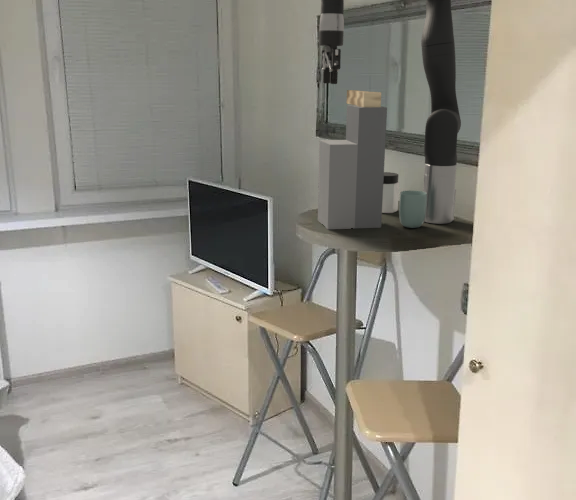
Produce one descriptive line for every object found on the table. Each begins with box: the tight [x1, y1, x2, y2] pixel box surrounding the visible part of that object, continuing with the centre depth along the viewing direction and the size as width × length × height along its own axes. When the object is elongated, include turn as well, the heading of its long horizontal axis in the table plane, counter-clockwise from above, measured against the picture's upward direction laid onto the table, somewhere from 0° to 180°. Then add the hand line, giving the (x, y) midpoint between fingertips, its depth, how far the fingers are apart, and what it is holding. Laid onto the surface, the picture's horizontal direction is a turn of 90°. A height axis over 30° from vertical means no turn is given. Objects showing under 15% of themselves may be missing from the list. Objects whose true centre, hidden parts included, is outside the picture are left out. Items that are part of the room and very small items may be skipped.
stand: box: [317, 104, 388, 230], centre depth 188 cm, size 12×16×34 cm
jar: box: [382, 171, 400, 214], centre depth 210 cm, size 9×8×12 cm
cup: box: [398, 190, 427, 229], centre depth 189 cm, size 8×8×10 cm
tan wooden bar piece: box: [346, 89, 382, 107], centre depth 189 cm, size 21×5×4 cm, turn 11°
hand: (329, 83), depth 206 cm, fingers open, 8 cm apart
